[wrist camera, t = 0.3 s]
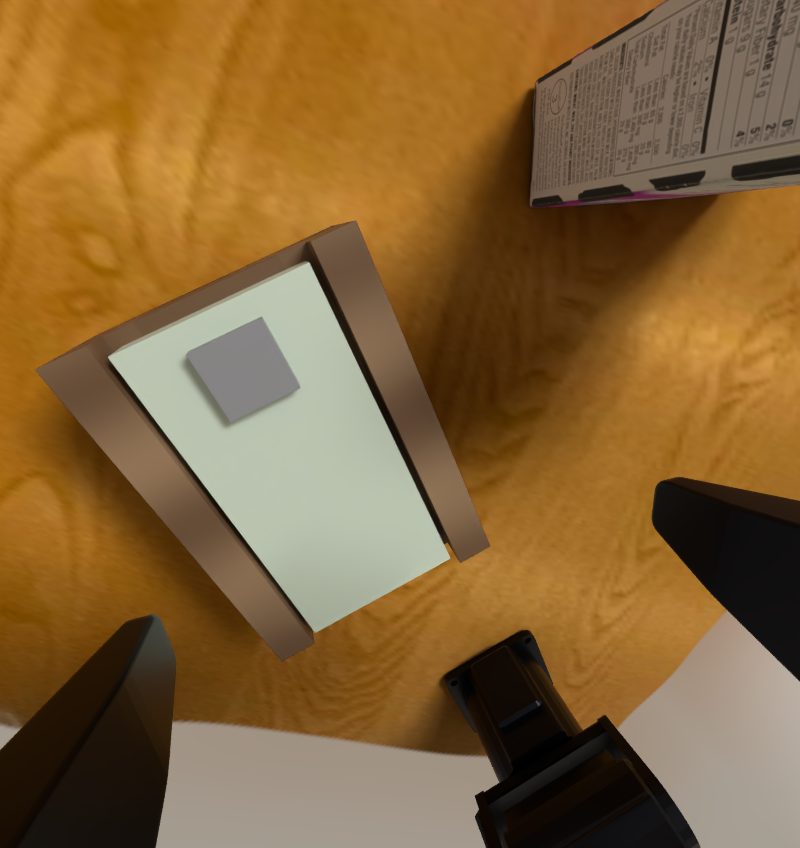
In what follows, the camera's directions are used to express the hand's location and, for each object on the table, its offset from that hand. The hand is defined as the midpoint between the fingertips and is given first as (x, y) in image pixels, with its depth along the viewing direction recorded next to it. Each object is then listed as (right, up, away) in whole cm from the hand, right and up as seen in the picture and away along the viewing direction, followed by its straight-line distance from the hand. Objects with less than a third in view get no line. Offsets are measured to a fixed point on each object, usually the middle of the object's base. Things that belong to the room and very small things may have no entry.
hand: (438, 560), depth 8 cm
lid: (-4, +1, +10) cm, 11 cm away
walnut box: (-5, +2, +13) cm, 14 cm away
